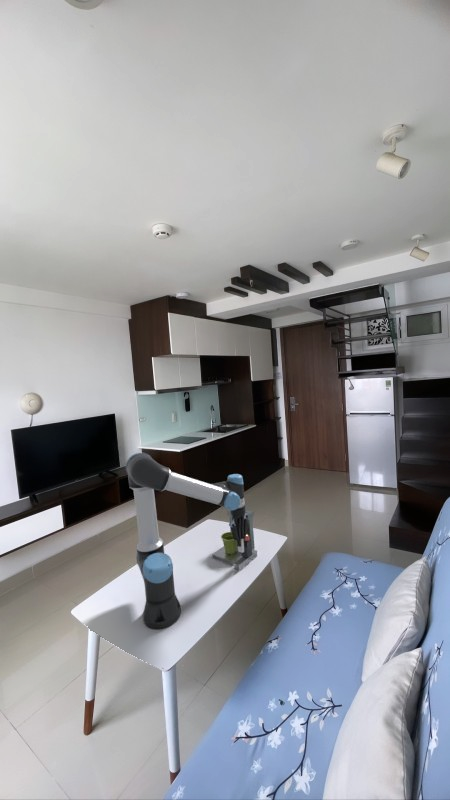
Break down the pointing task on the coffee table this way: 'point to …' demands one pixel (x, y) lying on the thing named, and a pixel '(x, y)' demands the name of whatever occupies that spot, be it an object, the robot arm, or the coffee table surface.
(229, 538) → the plant pot
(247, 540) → the lever
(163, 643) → the coffee table surface
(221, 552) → the frame
